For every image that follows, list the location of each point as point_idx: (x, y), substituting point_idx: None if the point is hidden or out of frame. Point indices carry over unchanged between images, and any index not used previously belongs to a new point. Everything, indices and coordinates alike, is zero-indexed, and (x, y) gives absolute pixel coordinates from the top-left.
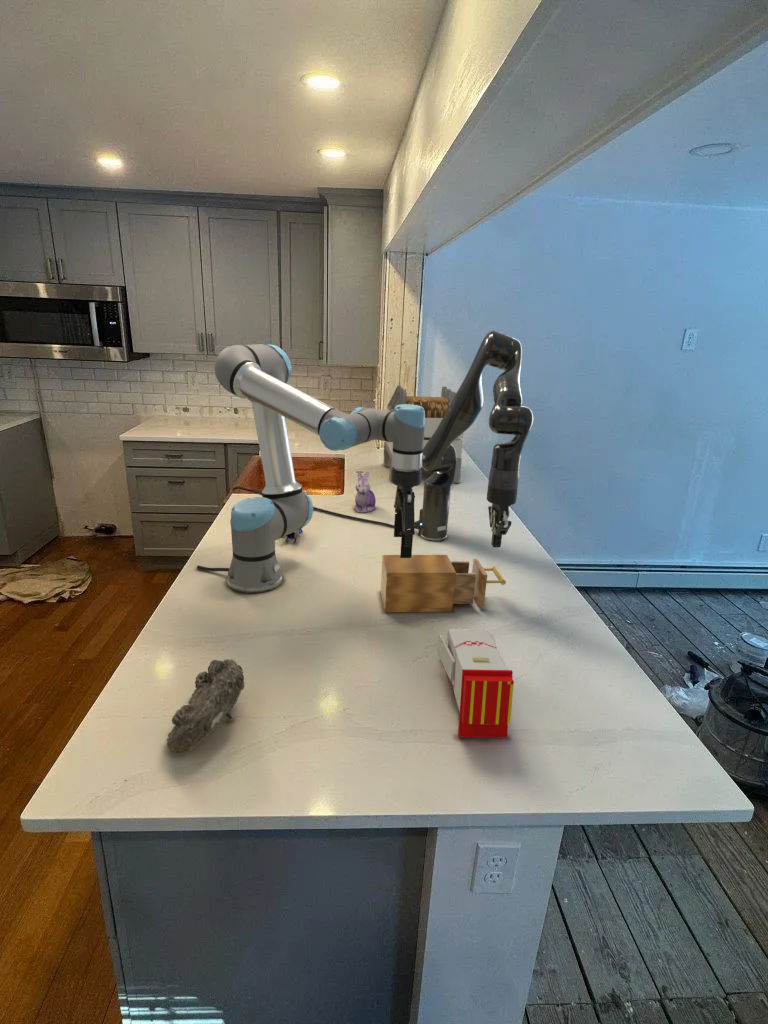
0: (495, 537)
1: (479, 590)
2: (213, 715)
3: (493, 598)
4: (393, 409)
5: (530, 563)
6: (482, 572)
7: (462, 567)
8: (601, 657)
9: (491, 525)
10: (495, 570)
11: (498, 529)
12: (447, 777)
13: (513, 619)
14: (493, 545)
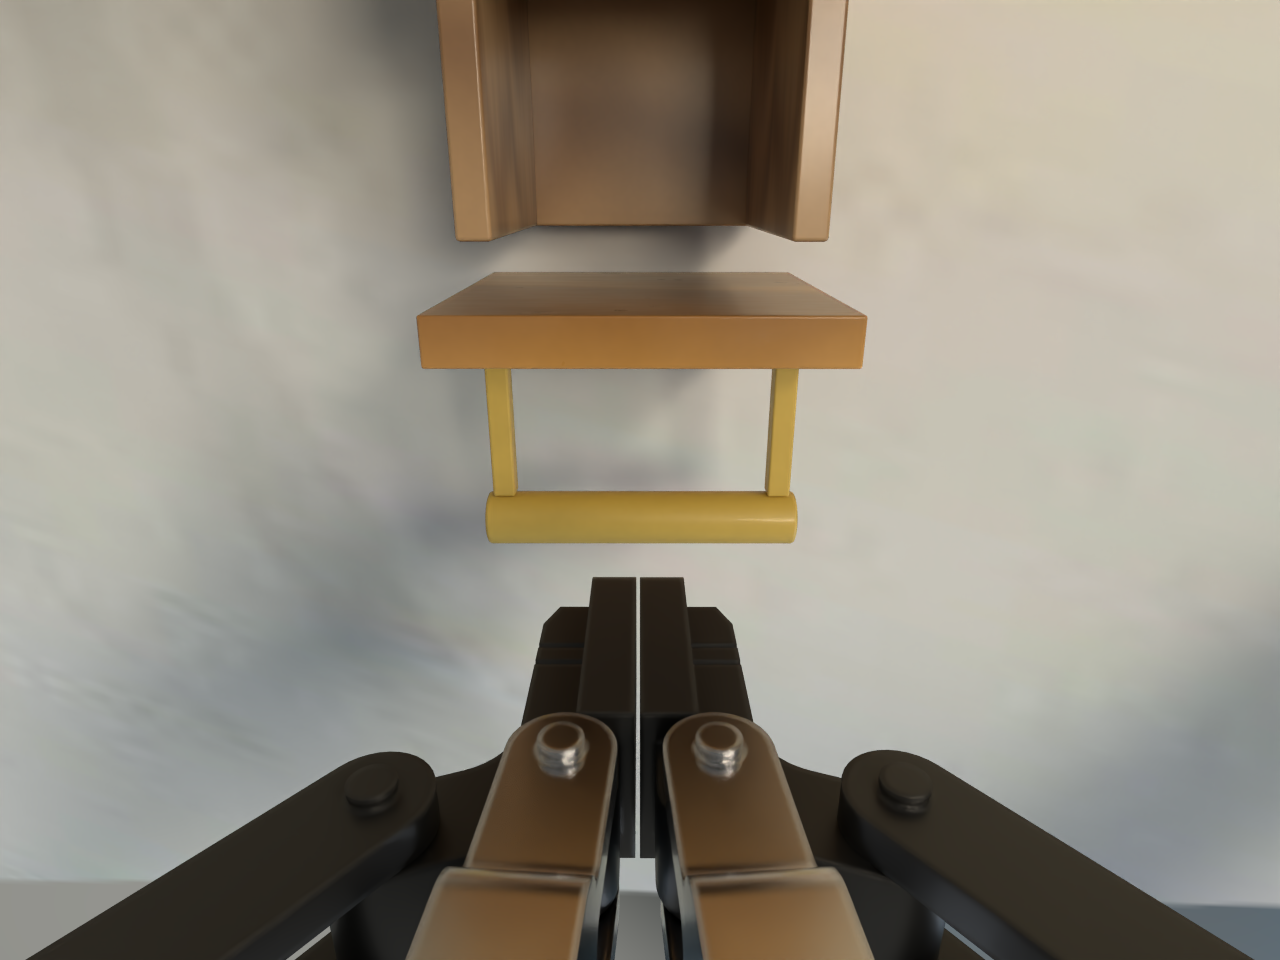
0: (559, 703)
1: (520, 287)
2: None
3: (677, 429)
4: None
5: (1157, 817)
6: (479, 326)
7: (785, 153)
8: (38, 796)
9: (852, 808)
10: (706, 511)
11: (150, 921)
12: None
13: (382, 480)
14: (594, 595)
